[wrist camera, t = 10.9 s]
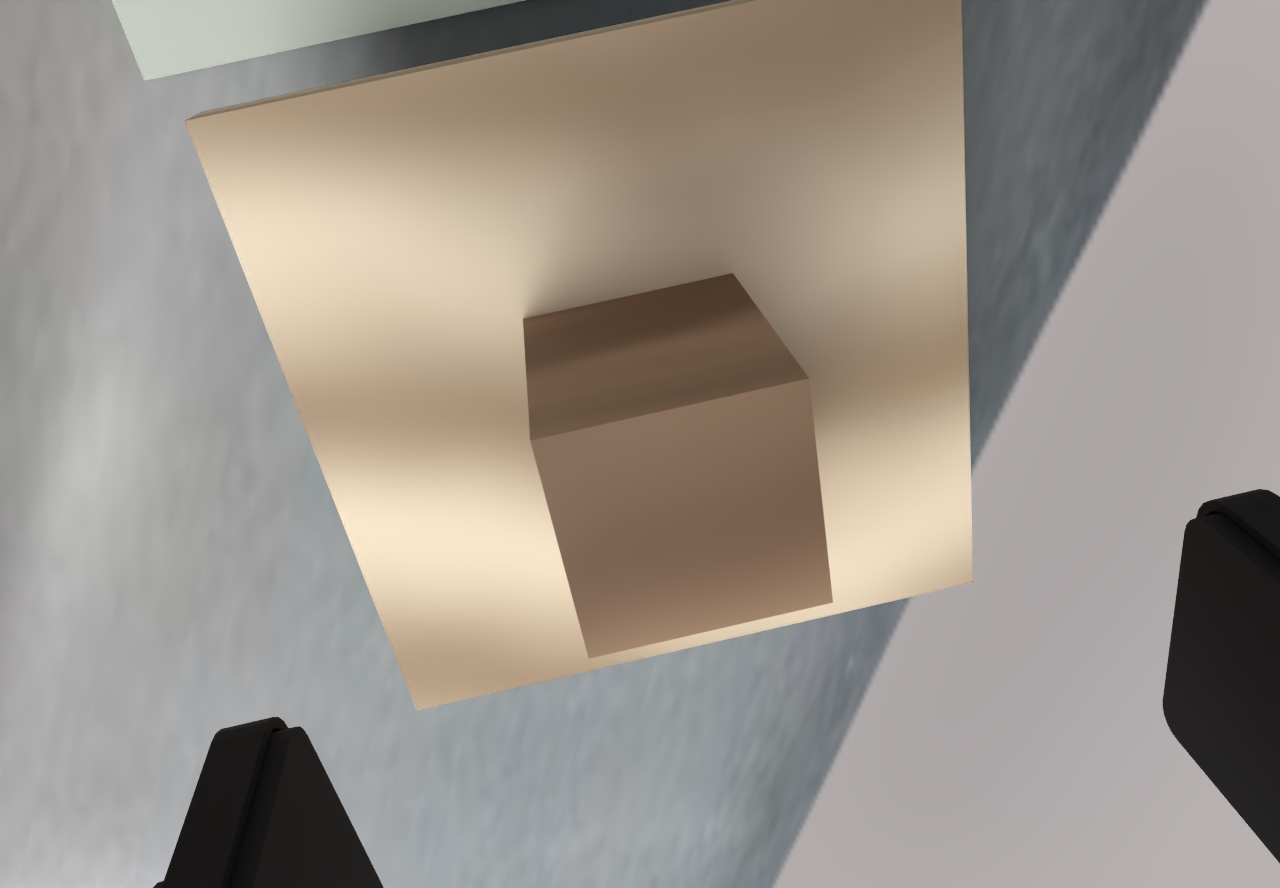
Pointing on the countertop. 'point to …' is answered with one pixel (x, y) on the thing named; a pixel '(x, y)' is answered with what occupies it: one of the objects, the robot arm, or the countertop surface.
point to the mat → (261, 26)
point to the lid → (625, 328)
